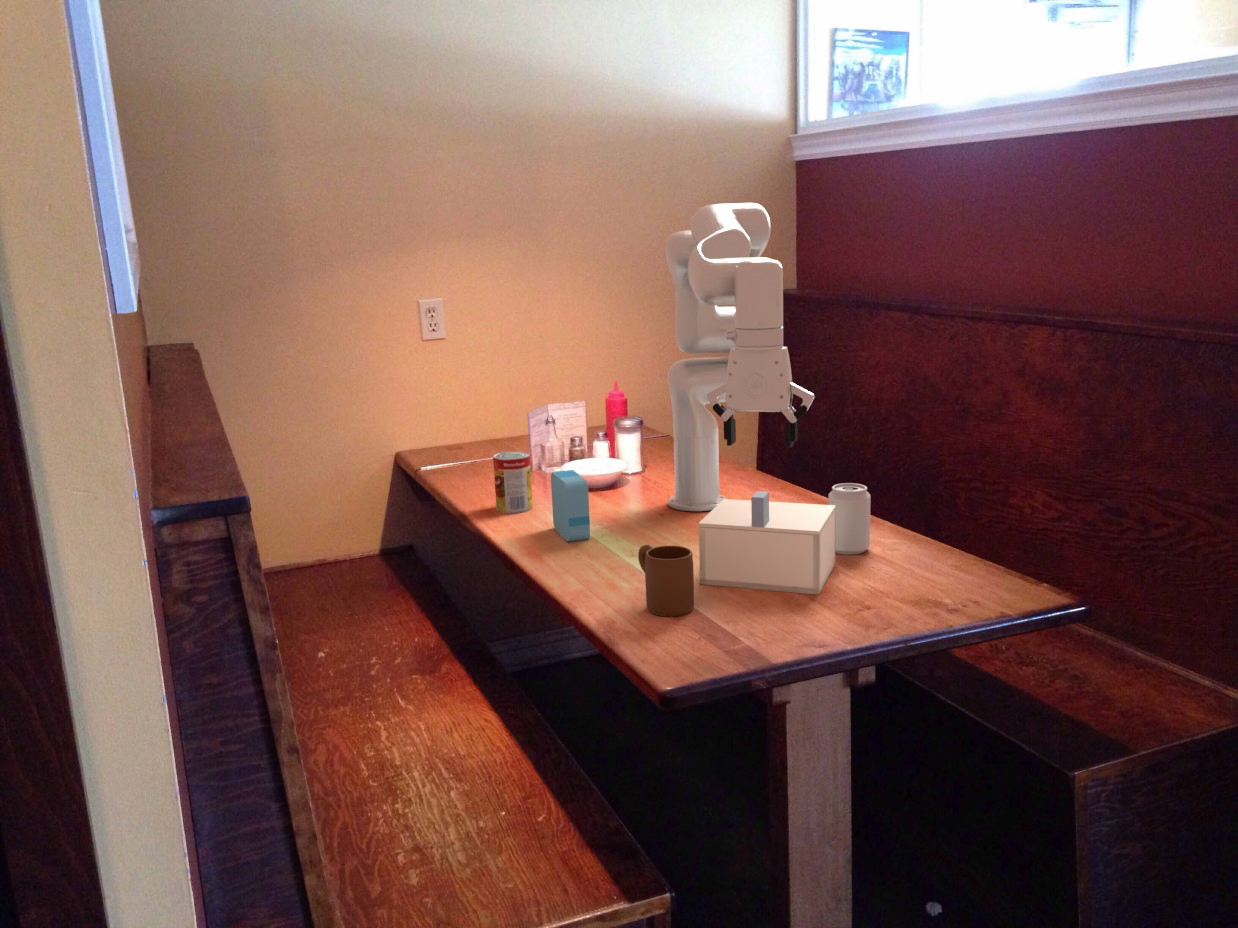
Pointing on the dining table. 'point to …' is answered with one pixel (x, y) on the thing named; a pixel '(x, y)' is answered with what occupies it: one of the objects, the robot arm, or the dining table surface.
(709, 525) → the flap
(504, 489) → the canned food
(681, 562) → the mug
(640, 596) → the dining table surface
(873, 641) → the dining table surface
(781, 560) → the mailer box
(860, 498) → the can
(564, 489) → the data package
